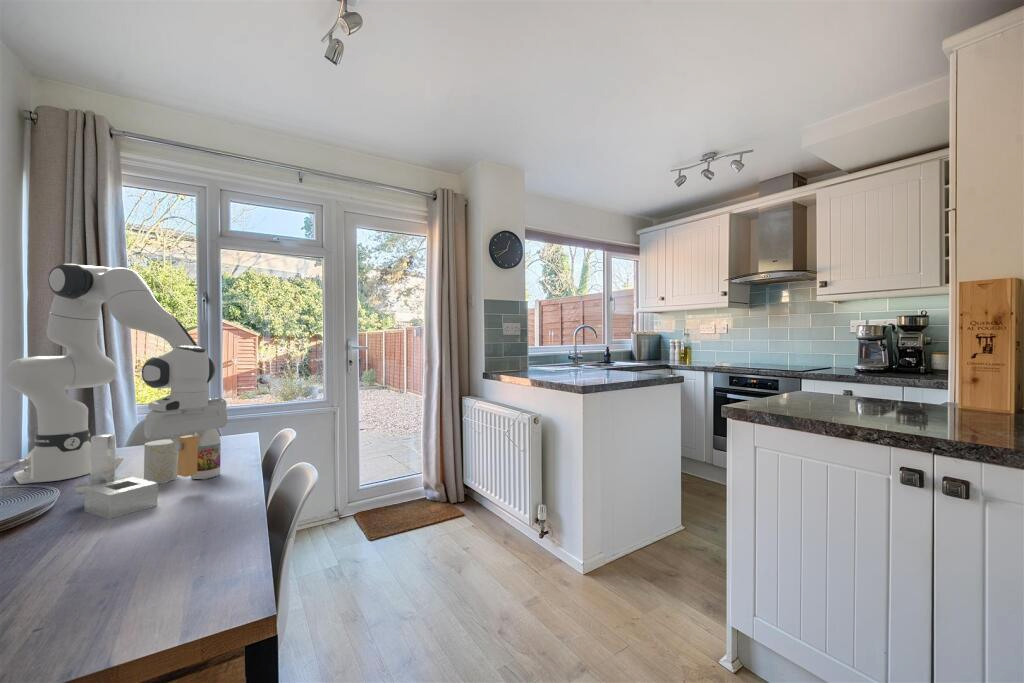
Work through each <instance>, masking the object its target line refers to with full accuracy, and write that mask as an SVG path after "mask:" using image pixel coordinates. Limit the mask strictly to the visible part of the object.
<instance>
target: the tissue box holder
mask: <svg viewBox="0 0 1024 683" xmlns="http://www.w3.org/2000/svg"><path fill="white" fill-rule="evenodd" d="M90 443H91V449H90V473H89V481H87V482H83V483H80V484H79V485H77V486H75V494H76V495H84V513H85V512H86V513H89V514H91V515H94V516H97V515H98V517H100V516H101V517H100V518H103V517H104V518H103V519H106V518H107V519H106V520H111V519H112V518H113V519H115V517H116V518H120V517H122V515H123V516H126V515H129V514H133V513H136V512H139V511H138V510H140V511H142V509H143V510H146V509H149V508H148V507H150V508H152V507H151V506H153V507H156V506H158V493H159V492H158V486H159V484H158V483H156V482H152V481H148V480H144V478H141V477H140V478H139V477H137V476H130V477H120V476H119V477H117V476H116V474H115V473H116V470H115V459H116V434H114V433H104V434H97V435H93V436H90ZM115 476H116V477H115ZM155 505H156V506H155ZM145 508H146V509H145ZM132 512H133V513H132ZM125 514H126V515H125ZM113 519H112V520H113Z"/></svg>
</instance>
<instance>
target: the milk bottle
mask: <svg viewBox="0 0 1024 683" xmlns="http://www.w3.org/2000/svg"><path fill="white" fill-rule="evenodd" d="M194 433H195V434H194V435H193V436H198V434H196V432H194ZM220 436H221V435H220V434H219V432H218V430H217V429H211V430H206V434H205V436H204V437H203V439H202V440H201V446H199V447H198V461H197V474H195V475H191V476H190V478H191V479H192V480H194V479H202V480H208V478H209V479H212V477H213V478H215V476H216V477H218V476H219V475H220V474H221V450H222V449H221V437H220Z"/></svg>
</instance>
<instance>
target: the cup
mask: <svg viewBox="0 0 1024 683" xmlns="http://www.w3.org/2000/svg"><path fill="white" fill-rule="evenodd" d="M143 446H144V447H143V448H144V453H143V454H144V455H143V456H144V457H143V458H144V460H143V467H144V468H143V479H144V480H148V481H152V482H156V483H160V484H164V483H163V482H165V483H167V482H166V481H169V482H171V481H170V480H173V479H175V480H176V478H177V479H178V476H179V475H177V470H178V451H177V450H175V444H174V443H173V441H172V440H171V439H170V438H167V439H158V440H157V439H156V440H151V441H148V442H147V441H146V442H145V443H144V445H143ZM173 481H174V480H173Z"/></svg>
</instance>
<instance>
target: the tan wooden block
mask: <svg viewBox="0 0 1024 683" xmlns="http://www.w3.org/2000/svg"><path fill="white" fill-rule="evenodd" d="M178 440H179V442H180V443H184V449H183V450H179V451H178V470H177V475H178V476H180V477H184V478H186V477H191V475H195V474H197V461H198V436H194V435H192V434H189V435H187V434H186V435H183V436H180V439H178Z"/></svg>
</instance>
